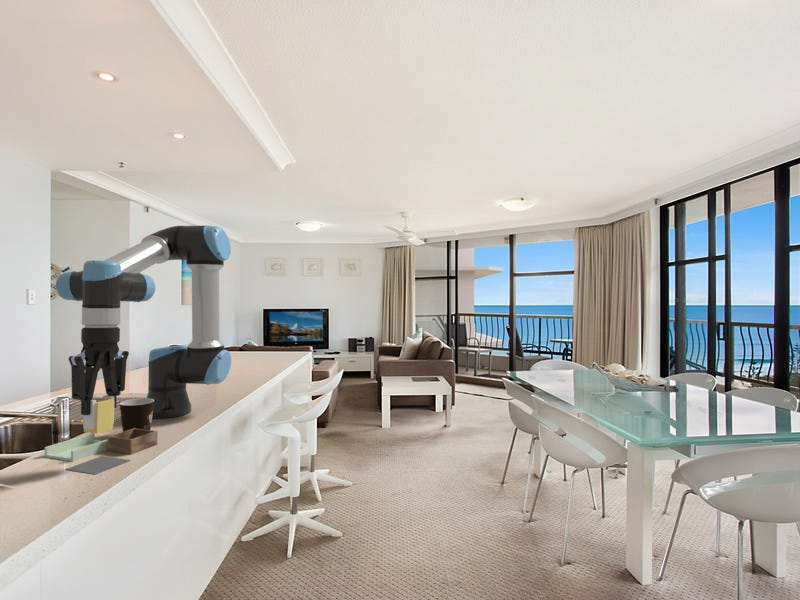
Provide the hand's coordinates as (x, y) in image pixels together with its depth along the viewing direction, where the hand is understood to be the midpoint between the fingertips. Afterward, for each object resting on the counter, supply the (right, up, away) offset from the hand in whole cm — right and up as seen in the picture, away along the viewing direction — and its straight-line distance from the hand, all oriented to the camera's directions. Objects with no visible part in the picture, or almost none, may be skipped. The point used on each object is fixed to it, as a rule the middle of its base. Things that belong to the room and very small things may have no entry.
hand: (98, 425), depth 103 cm
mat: (0, -10, 0) cm, 10 cm away
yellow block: (0, -1, 0) cm, 1 cm away
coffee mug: (-5, -10, +24) cm, 27 cm away
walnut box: (0, -10, +13) cm, 16 cm away
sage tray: (-10, -10, +9) cm, 17 cm away
